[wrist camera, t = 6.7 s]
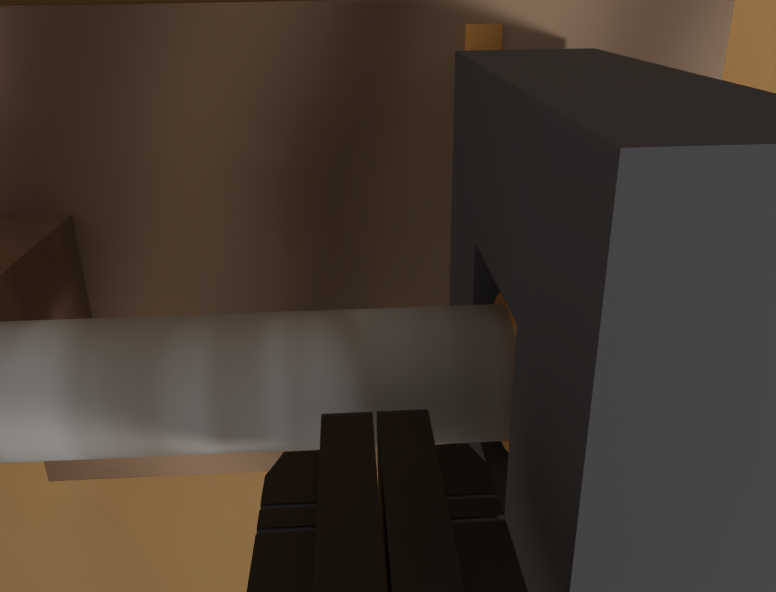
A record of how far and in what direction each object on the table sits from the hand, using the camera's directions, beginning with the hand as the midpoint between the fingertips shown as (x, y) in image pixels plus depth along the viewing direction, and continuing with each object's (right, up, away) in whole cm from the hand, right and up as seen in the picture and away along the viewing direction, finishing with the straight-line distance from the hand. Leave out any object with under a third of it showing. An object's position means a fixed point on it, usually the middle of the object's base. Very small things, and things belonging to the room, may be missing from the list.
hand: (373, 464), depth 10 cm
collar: (+3, +3, +7) cm, 8 cm away
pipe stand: (-1, +4, +9) cm, 10 cm away
